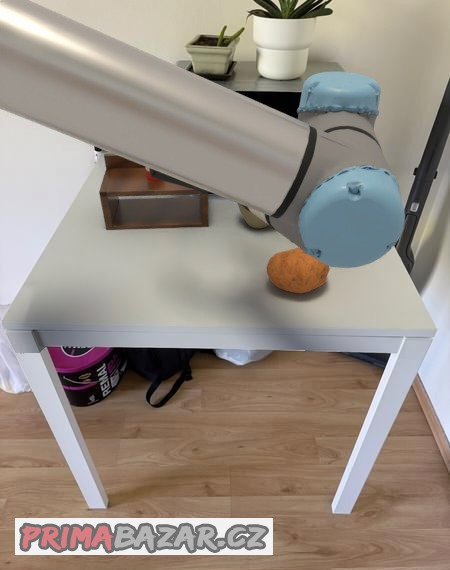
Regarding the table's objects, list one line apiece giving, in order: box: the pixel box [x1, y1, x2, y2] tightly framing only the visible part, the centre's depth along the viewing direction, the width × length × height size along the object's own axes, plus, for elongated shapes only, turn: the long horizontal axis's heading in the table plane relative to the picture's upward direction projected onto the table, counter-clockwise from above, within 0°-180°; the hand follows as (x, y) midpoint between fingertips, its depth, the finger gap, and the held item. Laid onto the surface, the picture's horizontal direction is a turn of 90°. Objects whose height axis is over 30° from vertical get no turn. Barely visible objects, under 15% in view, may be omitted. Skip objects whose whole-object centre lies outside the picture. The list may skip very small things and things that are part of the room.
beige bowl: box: [237, 203, 269, 229], centre depth 95 cm, size 10×10×7 cm
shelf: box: [98, 152, 209, 231], centre depth 96 cm, size 22×12×12 cm, turn 94°
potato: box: [265, 247, 330, 294], centre depth 79 cm, size 9×11×8 cm
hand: (183, 135), depth 71 cm, fingers open, 13 cm apart
